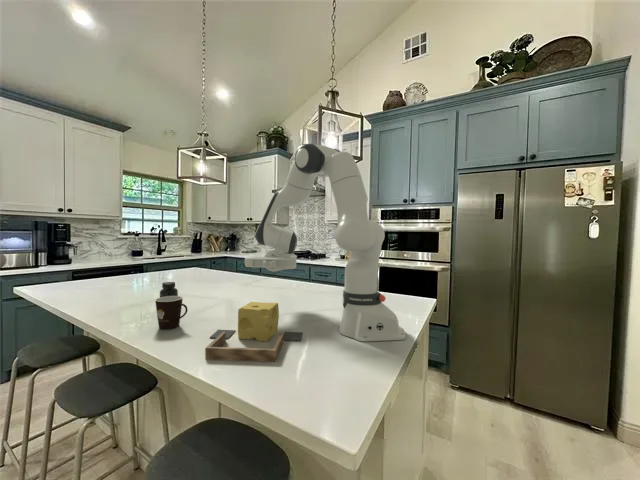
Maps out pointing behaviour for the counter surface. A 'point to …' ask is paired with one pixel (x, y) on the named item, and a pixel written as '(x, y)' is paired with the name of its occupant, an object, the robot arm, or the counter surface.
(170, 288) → the supplement bottle
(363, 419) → the counter surface
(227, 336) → the pads
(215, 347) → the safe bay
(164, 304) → the coffee mug
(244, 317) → the cheese
